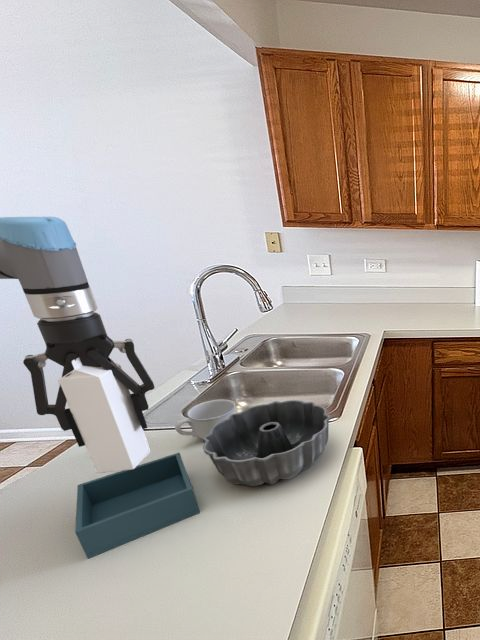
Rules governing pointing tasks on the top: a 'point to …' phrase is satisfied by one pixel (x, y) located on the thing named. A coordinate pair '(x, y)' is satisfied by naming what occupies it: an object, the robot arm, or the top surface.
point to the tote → (133, 504)
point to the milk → (105, 418)
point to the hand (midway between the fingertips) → (114, 434)
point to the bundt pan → (268, 441)
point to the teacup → (206, 417)
